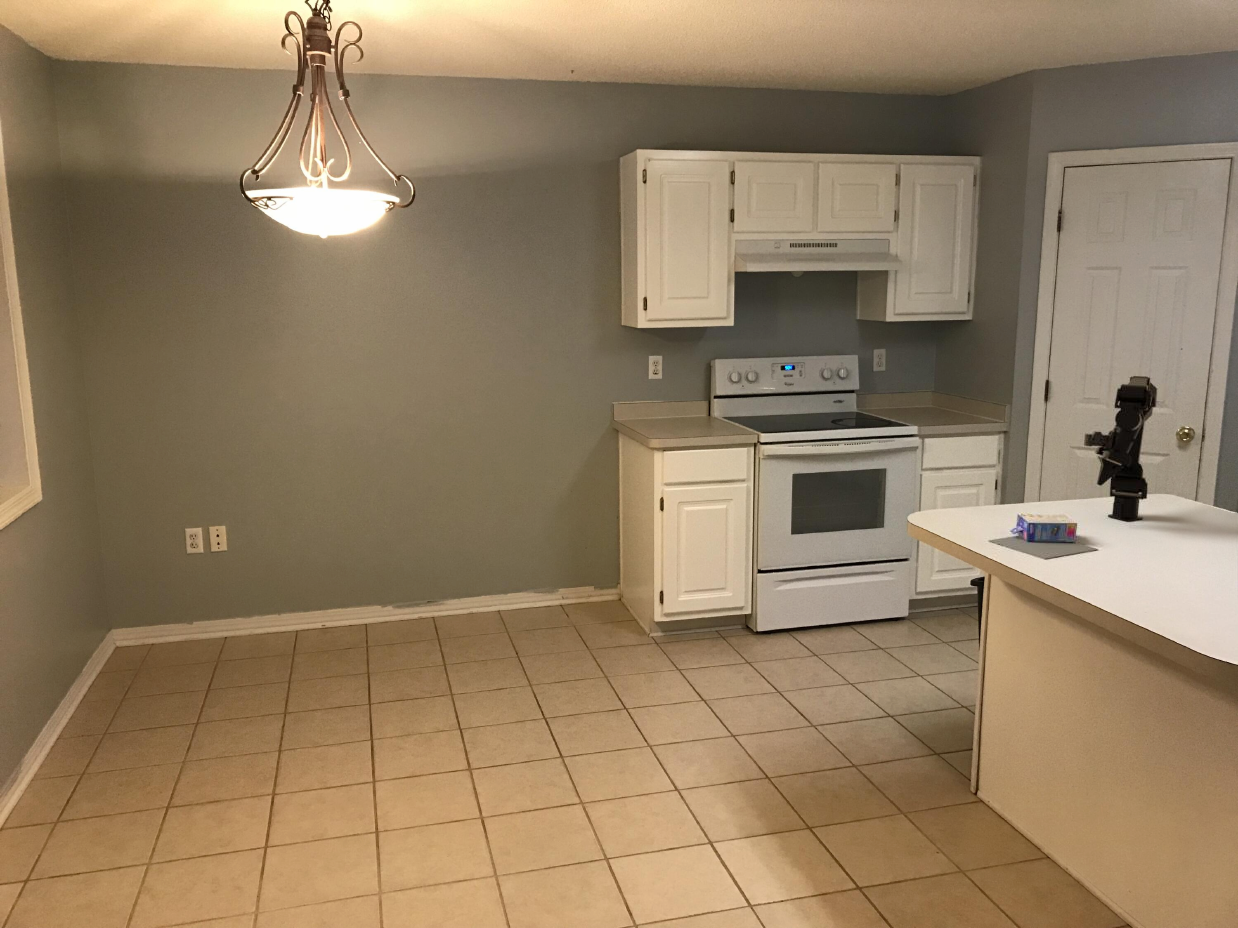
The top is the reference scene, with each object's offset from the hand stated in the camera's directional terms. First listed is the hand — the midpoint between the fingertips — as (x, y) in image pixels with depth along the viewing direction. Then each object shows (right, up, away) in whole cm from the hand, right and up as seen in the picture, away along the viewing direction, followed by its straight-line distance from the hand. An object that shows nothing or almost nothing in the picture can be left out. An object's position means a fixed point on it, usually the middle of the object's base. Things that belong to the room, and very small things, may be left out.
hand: (1098, 484), depth 263 cm
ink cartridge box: (-12, -11, -10) cm, 19 cm away
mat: (-21, -15, -14) cm, 30 cm away
